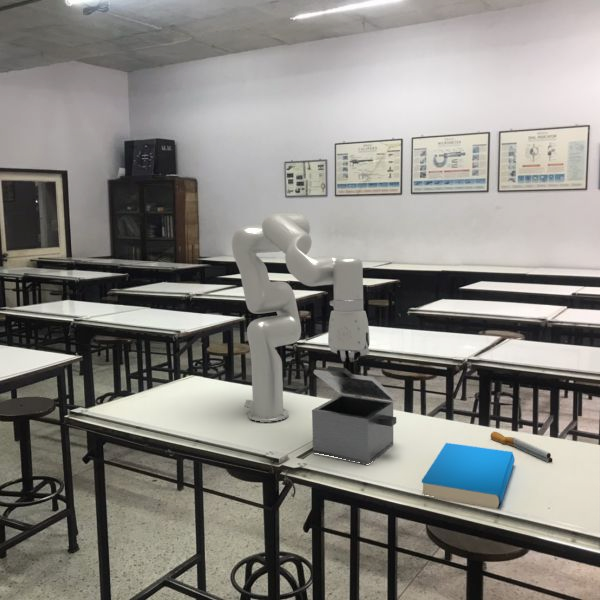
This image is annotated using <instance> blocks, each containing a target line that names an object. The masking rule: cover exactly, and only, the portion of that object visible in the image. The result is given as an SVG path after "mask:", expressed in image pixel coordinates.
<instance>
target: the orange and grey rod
mask: <svg viewBox="0 0 600 600" xmlns="http://www.w3.org/2000/svg"><path fill="white" fill-rule="evenodd" d="M490 439H491V441H494V442H497V443H501V444H502V445H509V446H512V447H514V448H516V449H518V450H520V451H523V452H525V453H527V454H529V455H531V456H533V455H534V457H536V458H539V459H540V460H542V461H545V462H546V461H547V462H546V463H553V458H552V457H551V456H552V455H551V453H550V452H548V451H546V450H544V449H542V448H540V447H538V446H535V445H532V444H531V443H528V442H526V441H523V440H521V439H519V438H517V437H510V436H505V435H503V434H501V433H500V432H497V431H492V432H491V434H490Z"/></svg>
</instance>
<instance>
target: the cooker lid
mask: <svg viewBox="0 0 600 600" xmlns="http://www.w3.org/2000/svg"><path fill="white" fill-rule="evenodd" d="M313 374H314V375H315V376H316V377H318V378H319V379H320V380H322V381H323V382H324V383H325V384H326V385H328V386H329V387H330V388H331V389H333V390H334V391H336V392H337V393H338V394H339V395H348V396H355V397H361V398H368V399H375V400H382V401H389V402H395V401H396V397H395V396H394V395H393V394H392V393H391V392H390V391H389V390H388V389H386V387H384V386H383V385H382V384H381V383H380V382H379V381H378V380H377V379H375V377H374V376H369V375H360V374H355V375H353V374H352V373H351V372H349V371H348V370H347V369H346V368H343V367H342V366H341V367H340V366H339V367H338V366H331V365H330V366H327V367H326V370H321V369H320V370H319V369H314V370H313Z"/></svg>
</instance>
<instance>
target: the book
mask: <svg viewBox="0 0 600 600" xmlns="http://www.w3.org/2000/svg"><path fill="white" fill-rule="evenodd" d="M514 455H515V454H514V453H513V451H508V450H501V449H494V448H488V447H487V448H485V447H480V446H473V445H471V446H470V445H466V444H465V445H464V444H460V443H459V444H457V443H451V442H450V443H449V442H446V443H444V445H443V447H442V448H441V450H440V452H439V453H438V455H437V456H436V458H435V459H434V461H433V463H432V464H431V466H429V468H428V470H427V471H426V473H425V475H424V476H423V478H421V483H422V495H423V494H424V495H429V496H434V497H438V498H437V499H440V498H441V500H445V499H447V501H451V500H452V502H456V503H464V504H468V505H476V506H479V505H480V507H486V508H490V509H491V508H492V509H498V510H499V509H500V506H501V504H502V502H503V498H504V495H505V491H506V489H507V486H508V482H509V479H510V476H511V473H512V470H513V468H514V467H513V466H514V464H515V456H514ZM434 497H433V498H434Z"/></svg>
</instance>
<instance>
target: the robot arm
mask: <svg viewBox="0 0 600 600" xmlns="http://www.w3.org/2000/svg"><path fill="white" fill-rule="evenodd" d="M310 231H311V226H310V222H309V220H308V219H307V217H306V216H304V215H303V214H301V213H298V212H297V213H296V212H293V213H292V212H288V213H284V212H283V213H281V212H280V213H272V214H270V215H267V216H266V217H265V218H264V219H263V220H262V223H261V224H260V225H259V224H258V225H247V226H246V225H245V226H242V227H240V228H238V229H236V231H235V232H234V233H233V236H232V239H231V250H232V255H233V258H234V260H235V263H236V266H237V268H238V270H239V274H240V279H241V285H242V290H243V294H244V295H243V296H244V300H245V304H246V307H247V310H248V311H249V312H250V313H252V314H256V315H257V314H258V315H259V314H267V313H274V312H276V314H277V315H271V316H264V317H259V318H256V319H253V320H252V321H250V323H249V324H248V326H247V328H246V337H247V341H248V345H249V352H250V360H251V361H250V362H251V388H252V399H246V400H245V402H244V404H243V407H244V408H247V409H249V412H248V414H247V416H249V417H248V419H249V418H250V419H249V420H251V419H252V420H255V421H254V422H256V421H260V422H259V423H264V422H268V423H272V422H271V421H277V422H279V421H278V420H281V421H283V420H282V419H284V418H286V417H287V416H288V417H289V411H288V410H287V409H285V408H284V394H283V393H284V389H283V388H284V387H283V385H284V384H283V361H282V358H281V356H280V354H279V353H278V351H277V350H276V348H278V347H282V346H287V345H292V344H295V343H297V342H298V341H299V340H300V338H301V334H302V326H301V321H300V320H301V319H300V315H299V311H298V310H299V309H298V306H297V305H298V304H297V301H296V296H295V292H294V290H293V289H292V287H291V285H290V284H289V283H287V282H285V281H282V280H278V281H271V280H270V277H269V272H268V268H267V266H266V264H265V263H264V261H263V260H262V259H261V258H260V257H259V256H258V255H257V254H265V253H278V252H279V253H280V252H282V253H283V254H284V255H285V256H284V258H285V259H284V260H285V265H286V268H287V270H288V272H289V273H290V275H292V276H293V277H294V278H295V279H296V280H297V281H298V282H300V283H301V284H303V285H304V286H308V287H318V286H319V287H320V286H329V285H331V286H332V285H333V299H332V300H330V301H329V305H330V306H332V307H333V310H331V311H330V314H329V315H330V316H329V322H328V332H327V333H328V334H327V335H328V336H327V344H328V347H329V348H330V350H329V351H330V352H332V353H334V354H337V355H338V357H340V359H341V362H343V363H342V365H343V367H342V368H346V369H347V370H348V371H349V372H351V373H352V374H353V375H357V374H356V373H357V361H358V360H359V358H361V357H362V356H367V355H368V354H370V349H369V347H370V327H369V321H368V320H369V319H368V317H367V313H366V310H364V281H363V280H364V279H363V278H364V277H363V275H364V274H363V273H364V271H363V268H364V267H363V261H362V259H361V258H360V257H359V258H358V257H344V256H340V255H330V256H324V255H323V256H314V257H313V256H312V257H309V256H308V253H309V252H310V250H311V248H312V239H311V236H310V233H311V232H310ZM288 417H287V418H288ZM287 418H286V419H287ZM252 420H251V421H252ZM284 420H285V419H284Z"/></svg>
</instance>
